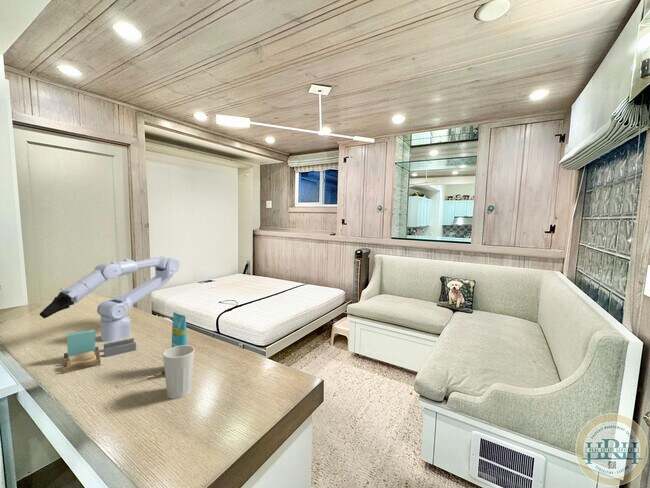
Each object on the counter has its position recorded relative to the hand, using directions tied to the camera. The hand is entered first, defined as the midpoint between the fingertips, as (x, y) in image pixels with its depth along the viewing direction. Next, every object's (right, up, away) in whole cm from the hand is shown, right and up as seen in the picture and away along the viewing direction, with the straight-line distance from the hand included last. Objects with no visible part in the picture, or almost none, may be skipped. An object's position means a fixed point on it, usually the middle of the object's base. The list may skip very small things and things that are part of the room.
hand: (43, 315), depth 93 cm
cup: (+52, -19, -13) cm, 57 cm away
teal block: (+11, -15, +2) cm, 19 cm away
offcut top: (+15, -14, -3) cm, 21 cm away
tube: (+47, -18, -2) cm, 50 cm away
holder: (+19, -16, +9) cm, 27 cm away
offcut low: (+15, -16, -2) cm, 22 cm away
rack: (+13, -16, 0) cm, 21 cm away
